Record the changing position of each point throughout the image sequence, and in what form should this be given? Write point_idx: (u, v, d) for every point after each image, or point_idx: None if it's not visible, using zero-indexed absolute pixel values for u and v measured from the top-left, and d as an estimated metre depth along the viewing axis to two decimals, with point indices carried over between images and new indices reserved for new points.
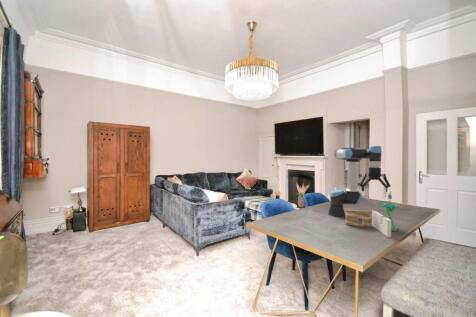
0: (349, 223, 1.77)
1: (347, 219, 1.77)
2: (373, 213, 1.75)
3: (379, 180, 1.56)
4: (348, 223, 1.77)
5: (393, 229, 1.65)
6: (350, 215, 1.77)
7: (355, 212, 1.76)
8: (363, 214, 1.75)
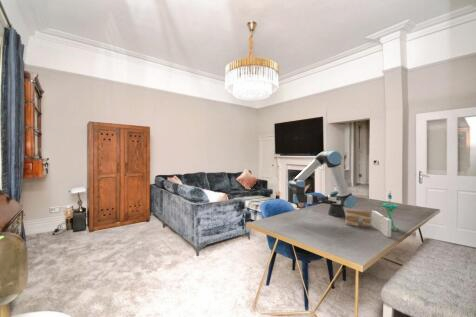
0: (349, 223, 1.77)
1: (347, 219, 1.77)
2: (373, 213, 1.75)
3: None
4: (348, 223, 1.77)
5: (393, 229, 1.65)
6: (350, 215, 1.77)
7: (355, 212, 1.76)
8: (363, 214, 1.75)
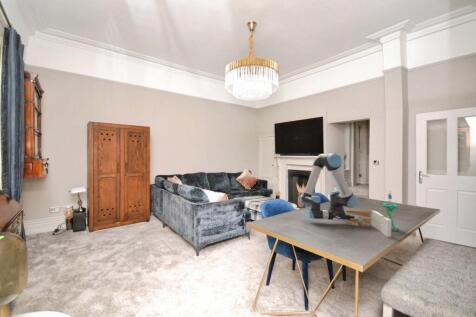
0: (349, 223, 1.77)
1: (347, 219, 1.77)
2: (373, 213, 1.75)
3: None
4: (348, 223, 1.77)
5: (393, 229, 1.65)
6: None
7: (355, 212, 1.76)
8: (363, 214, 1.75)
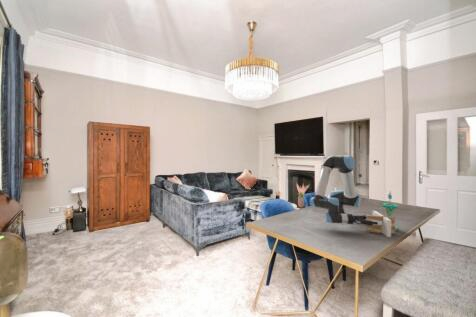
0: (371, 230, 1.61)
1: (368, 226, 1.62)
2: (373, 213, 1.75)
3: None
4: (369, 230, 1.62)
5: None
6: None
7: (377, 218, 1.60)
8: None
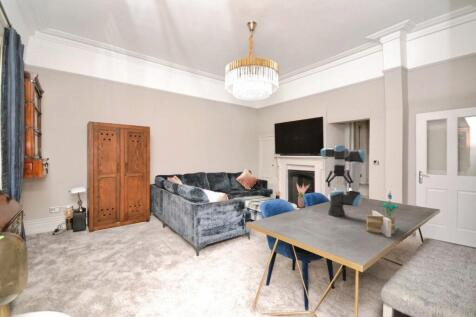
0: (371, 230, 1.61)
1: (368, 226, 1.62)
2: (373, 213, 1.75)
3: None
4: (369, 230, 1.62)
5: None
6: (372, 221, 1.61)
7: (377, 218, 1.60)
8: None
